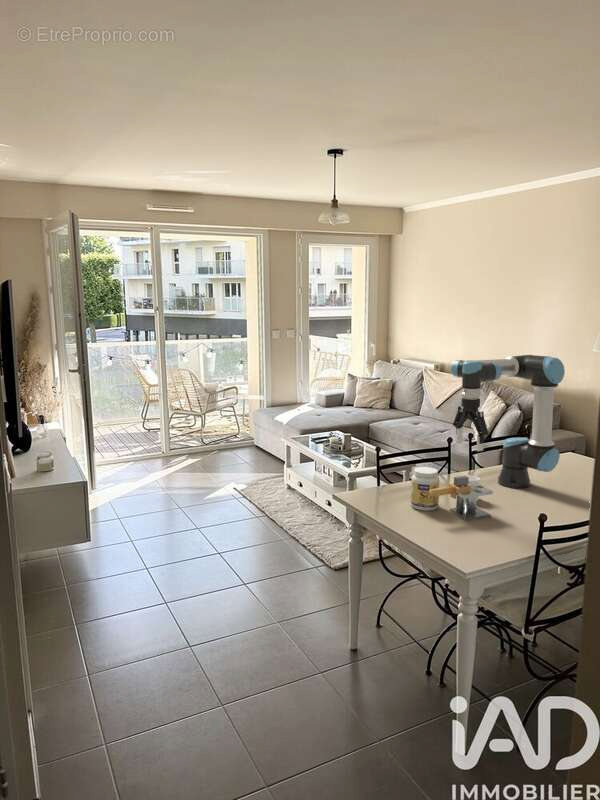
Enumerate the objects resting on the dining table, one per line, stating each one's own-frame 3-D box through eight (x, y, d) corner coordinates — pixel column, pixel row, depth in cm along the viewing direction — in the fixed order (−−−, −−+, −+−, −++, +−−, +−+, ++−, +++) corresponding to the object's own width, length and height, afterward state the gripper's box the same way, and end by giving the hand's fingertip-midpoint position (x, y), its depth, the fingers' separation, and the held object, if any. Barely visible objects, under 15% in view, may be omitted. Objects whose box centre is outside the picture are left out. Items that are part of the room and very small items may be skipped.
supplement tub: (416, 512, 256) (417, 474, 253) (406, 502, 268) (407, 466, 265) (442, 510, 258) (444, 473, 255) (432, 501, 270) (433, 465, 267)
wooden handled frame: (460, 493, 254) (461, 482, 254) (470, 498, 249) (470, 486, 248) (426, 498, 248) (427, 487, 247) (435, 503, 242) (435, 492, 241)
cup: (471, 503, 266) (472, 481, 265) (449, 496, 276) (450, 475, 274) (482, 499, 271) (483, 478, 270) (461, 492, 281) (462, 472, 279)
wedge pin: (462, 511, 254) (464, 475, 251) (467, 513, 251) (469, 477, 249) (452, 513, 252) (453, 477, 249) (456, 515, 249) (457, 479, 246)
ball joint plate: (472, 507, 262) (473, 481, 260) (491, 516, 251) (492, 489, 249) (444, 511, 257) (445, 485, 254) (462, 521, 245) (463, 494, 243)
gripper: (445, 393, 257) (444, 441, 261) (483, 403, 234) (481, 455, 238) (459, 392, 260) (458, 439, 264) (498, 401, 237) (496, 452, 241)
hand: (469, 446), depth 251 cm, fingers open, 13 cm apart
